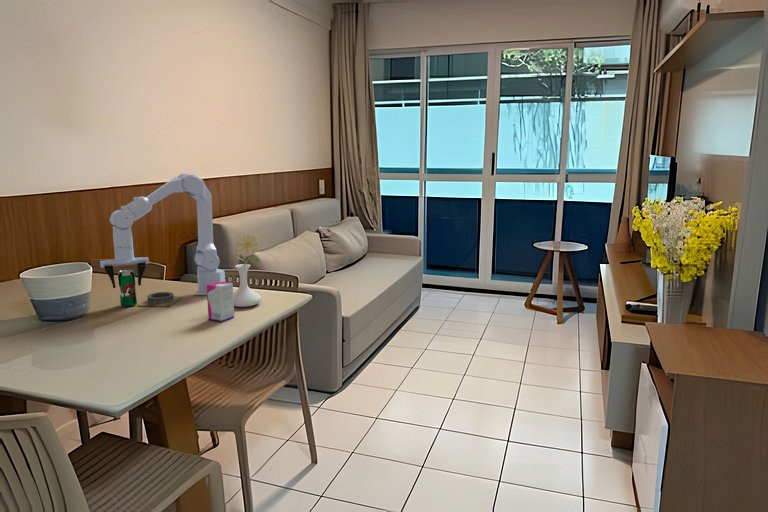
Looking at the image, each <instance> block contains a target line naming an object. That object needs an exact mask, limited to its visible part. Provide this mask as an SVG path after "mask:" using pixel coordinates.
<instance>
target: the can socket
mask: <svg viewBox="0 0 768 512" xmlns="http://www.w3.org/2000/svg"><path fill="white" fill-rule="evenodd" d="M183 297H184V296H181V295H180V296H179V295H178V296H175V294H174V293H173V292H169V291H159V292H154V293H153V292H152V293H150V294H148V295H147V296H146V298H147V299H145V300H144V301H141V302H140V303H138V304H137V307H142V306H147V307H148V308H149V307H150V306H171V305H172V306H173V304H174V303H175V304H176V303H177V301H178V300H179V301H181V300H182V299H183ZM181 298H182V299H181ZM179 301H178V302H179ZM175 304H174V305H175ZM172 306H171V307H172Z"/></svg>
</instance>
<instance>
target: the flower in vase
mask: <svg viewBox="0 0 768 512" xmlns="http://www.w3.org/2000/svg"><path fill="white" fill-rule="evenodd" d="M234 247H235V249H236V251H237V253H238V254H239V255H240V256H244V257H248V258H247V260H244V259H242V258H241V257H238V256H236V258H237V259H239V260H241V261H243V262H244V263H242V264H241V263H240V264H239V263H238V264H236V265H234V266H235V268H236V270H237V271H238V274H239V282H240V283H239V287H238V289H236V290H235V291H233V302H234V307H237V308H239V307H240V308H241V307H242V308H245V307H252V306H255V305H257V304H259V303H260V302H261V301H262V297H261V296H260V294H259V293H257V292H256V291H254V290H252V289H251V288H250V286H248V272H249V269H250V267H251V264H247V263H248V261H250V263H252V264H256V263H260V262H261V259H260V258H259V257H258V256H257V255H255V254H256V253H257V252H258V250H259V249H260V247H261V242H260V240H259V237H257V235H254V234H250V233H246V234H243V235H242V236H239V237H238V239H237V240H236V243H235V246H234Z"/></svg>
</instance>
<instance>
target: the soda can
mask: <svg viewBox="0 0 768 512" xmlns="http://www.w3.org/2000/svg"><path fill="white" fill-rule="evenodd" d="M135 277H136V276H135V272H134V270H132V269H123V270H122V269H121V270H120V271H118V274H117V281H118V292H119V302H120V306H121V307H122V308H131V307H135V306H136V305H138V299H137V298H138V297H137V288H136V278H135Z"/></svg>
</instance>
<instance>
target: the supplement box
mask: <svg viewBox="0 0 768 512" xmlns="http://www.w3.org/2000/svg"><path fill="white" fill-rule="evenodd" d="M233 287H234V285H233V282H227V281H225V282H221V281H218V282H215V283H211V284H207V295H206V297H207V317H208V318H207V319H208V321H213V322H218V323H224V322H227V321H229V320H232V319H234V318H235V309H234V308H235V306H234V302H233V293H234V288H233Z"/></svg>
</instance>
